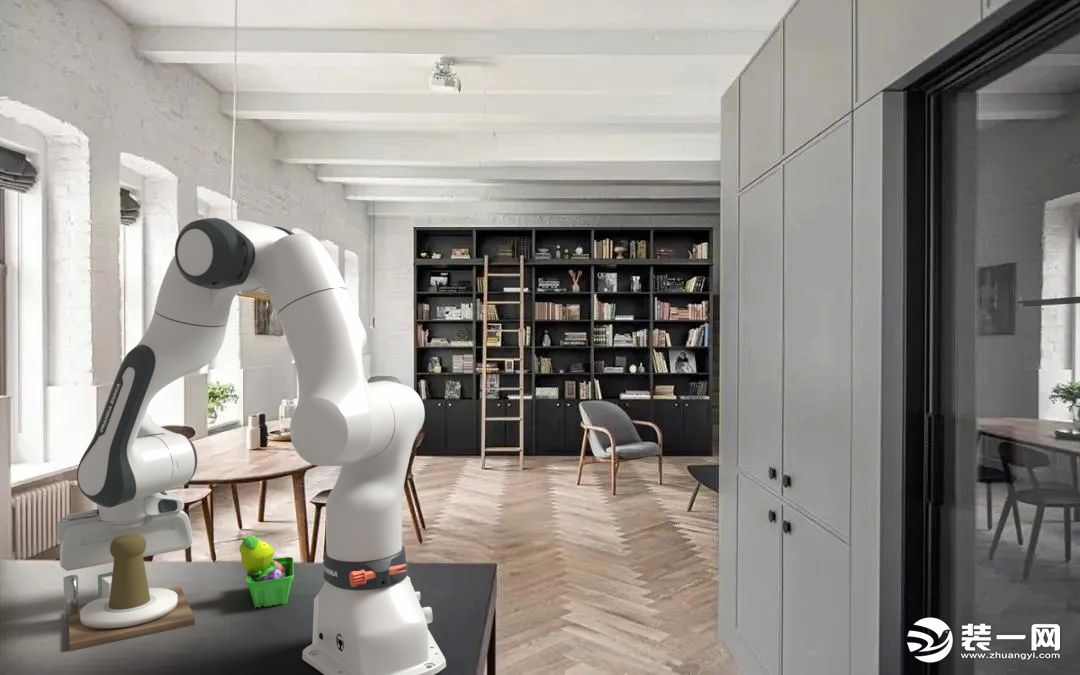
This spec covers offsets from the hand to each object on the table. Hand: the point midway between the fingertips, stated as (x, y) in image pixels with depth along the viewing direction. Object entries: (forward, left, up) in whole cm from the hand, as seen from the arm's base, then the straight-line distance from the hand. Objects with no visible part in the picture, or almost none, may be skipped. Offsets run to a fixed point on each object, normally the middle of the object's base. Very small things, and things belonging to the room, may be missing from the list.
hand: (129, 583), depth 131 cm
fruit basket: (-12, -20, -3) cm, 24 cm away
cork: (-9, +1, 0) cm, 9 cm away
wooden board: (-9, +1, -3) cm, 10 cm away
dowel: (-4, +9, -3) cm, 10 cm away
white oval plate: (-7, +1, -2) cm, 8 cm away
